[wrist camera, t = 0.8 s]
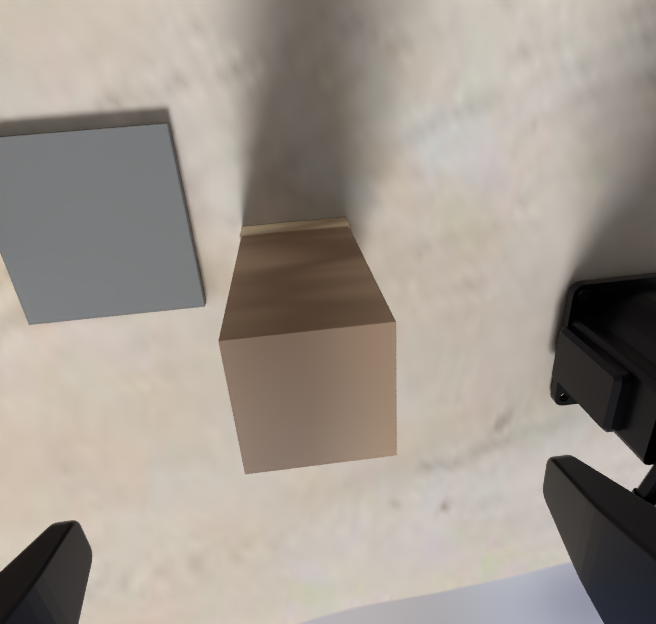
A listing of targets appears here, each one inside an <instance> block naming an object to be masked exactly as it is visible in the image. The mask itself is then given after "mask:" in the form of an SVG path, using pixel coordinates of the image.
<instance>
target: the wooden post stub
mask: <svg viewBox="0 0 656 624" xmlns="http://www.w3.org/2000/svg"><path fill="white" fill-rule="evenodd" d="M240 240H241V241H240V246H239V250H238V255H237V259H236V264H235V268H234V273H233V278H232V282H231V287H230V291H229V296H228V300H227V305H226V309H225V314H224V319H223V323H222V328H221V332H220V337H219V346H220V351H221V356H222V361H223V366H224V371H225V376H226V381H227V386H228V391H229V396H230V401H231V406H232V411H233V416H234V421H235V426H236V431H237V436H238V441H239V446H240V451H241V456H242V461H243V466H244V471H245V474H251V473H259V472H267V471H275V470H283V469H291V468H299V467H307V466H315V465H323V464H331V463H339V462H347V461H355V460H362V459H370V458H378V457H386V456H394V455H397V418H396V321H395V319H394V317H393V315H392V313H391V311H390V309H389V307H388V305H387V303H386V301H385V299H384V297H383V295H382V293H381V291H380V289H379V287H378V285H377V283H376V281H375V279H374V277H373V275H372V273H371V271H370V269H369V267H368V265H367V263H366V260H365V258H364V256H363V254H362V252H361V250H360V248H359V246H358V244H357V242H356V240H355V238H354V236H353V234H352V232H351V230H350V224H349V222H348V220H347V218H346V217H337V218H327V219H316V220H306V221H295V222H285V223H274V224H264V225H254V226H243V227H242V229H241V233H240Z"/></svg>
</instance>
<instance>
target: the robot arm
mask: <svg viewBox="0 0 656 624" xmlns="http://www.w3.org/2000/svg"><path fill="white" fill-rule="evenodd" d="M582 290H584V293H583V294H582V295H581V296H578V295H579V293H580V292H581V291H582ZM552 375H553V382H552V388H551V398H552V399H553V400H554V401H555V403H556V404H558V405H571V404H579V405H580V406H581V407H582V408H583V409H584V410H585V411H586V412H587V413H588V414H589V415H590V417H591V418H592V419H593V420H594V421H595V422H596V423H597V424H598V425H599V426H600V427H601V428H602V429H603V430H604V431H606V432H614V433H615V434H616V435H617V436H618V437H619V438H620V439H621V440H622V441H623V442H624V443H625V444H626V445H627V446H628V447H629V448H630V449H631V450H632V451H633V452H634V453H635V454H636V456H637V457H638V458H639V459H640V460H641V461H642V462H643V463H644V464H645V465H653V464H654V465H653V466H652V468H651V469H650V470H649V472H648V473H647V475H646V476H645V478H644V479H643V481H642V482H641V484H640V485H639V487H638V488H634V489H633V490H632V492H630V491H629V490H627V489H626V488H624V487H622V486H621V485H619V484H617V483H616V482H614V481H613V480H611V479H609V478H608V477H606V476H604V475H603V474H601V473H600V472H598V471H596V470H595V469H593V468H591V467H590V466H588V465H587V464H585V463H583V462H582V461H580V460H578V459H577V458H575V457H573V456H571V455H563V456H555V457H551V458H549V459H548V461H547V464H546V471H545V477H544V484H543V494H544V498H545V501H546V503H547V506H548V508H549V510H550V512H551V515H552V517H553V519H554V522H555V524H556V526H557V529H558V531H559V533H560V536H561V538H562V540H563V543H564V545H565V547H566V549H567V552H568V554H569V556H570V559H571V561H572V563H573V565H574V568H575V570H576V572H577V574H578V576H579V579H580V580H581V582H582V584H583V586H584V588H585V590H586V592H587V594H588V595H589V597H590V599H591V601H592V603H593V604H594V606H595V608H596V610H597V611H598V613H599V615H600V617H601V619H602V621H603V622H604V624H656V273H651V274H642V275H633V276H623V277H614V278H604V279H595V280H586V281H579V282H576V283H574V284H573V285H572V286H571V287H570V288H569V291H568V294H567V300H566V306H565V312H564V318H563V324H562V329H561V330H560V332H559V337H558V343H557V349H556V355H555V361H554V367H553V373H552ZM562 394H564V395H562ZM561 395H562V396H561ZM91 563H92V550H91V547H90V545H89V542H88V540H87V538H86V536H85V534H84V532H83V530H82V527H81V525H80V524H79V522H77V521H74V520H71V521H64V522H57V523H54V524H52V525H51V526H49V527H48V528H47V529H46V530H45V531H44V532H43V533H42V534H41V535H39V536H38V537H37V538H36V539H35V540H34V541H33V542H32V543H31V544H30V545H29V546H28V547H27V548H26V549H24V550H23V551H22V552H21V553H20V554H19V555H18V556H17V557H16V558H15V559H14V560H13V561H12V562H11V563H9V564H8V565H7V566H6V567H5V568H4V569H3V570H2V571H1V572H0V624H78V623H79V618H80V614H81V609H82V605H83V600H84V595H85V591H86V586H87V582H88V577H89V572H90V568H91Z"/></svg>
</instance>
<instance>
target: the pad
mask: <svg viewBox="0 0 656 624" xmlns="http://www.w3.org/2000/svg"><path fill="white" fill-rule="evenodd" d="M0 253H1V256H2V258H3V261H4V263H5V266H6V268H7V271H8V273H9V276H10V278H11V281H12V283H13V286H14V288H15V291H16V293H17V296H18V298H19V301H20V303H21V306H22V308H23V311H24V313H25V316H26V318H27V321H28V323H29V325H32V324H42V323H52V322H61V321H71V320H80V319H90V318H99V317H109V316H119V315H128V314H138V313H147V312H157V311H167V310H176V309H186V308H195V307H205V304H206V300H205V295H204V290H203V285H202V280H201V275H200V270H199V266H198V261H197V256H196V251H195V246H194V241H193V236H192V231H191V227H190V222H189V217H188V212H187V207H186V202H185V197H184V192H183V188H182V183H181V178H180V173H179V168H178V163H177V158H176V153H175V148H174V144H173V139H172V134H171V129H170V124H169V123H161V124H149V125H137V126H124V127H112V128H100V129H88V130H76V131H64V132H52V133H39V134H27V135H15V136H3V137H0Z"/></svg>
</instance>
